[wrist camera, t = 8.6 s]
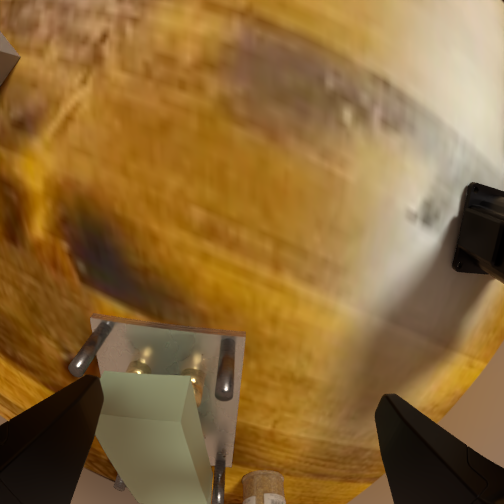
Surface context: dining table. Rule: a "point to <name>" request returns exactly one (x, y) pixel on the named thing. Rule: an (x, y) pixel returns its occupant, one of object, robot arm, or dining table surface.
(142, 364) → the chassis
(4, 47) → the icon cube
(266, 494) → the sprinkles bottle
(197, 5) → the dining table surface
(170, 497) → the board
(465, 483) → the robot arm
